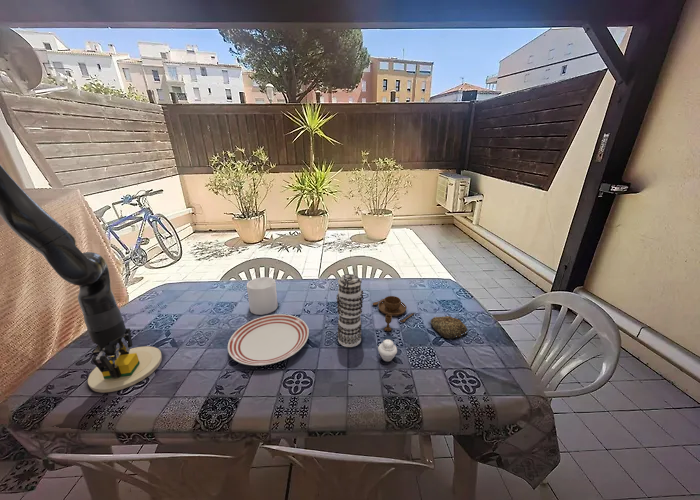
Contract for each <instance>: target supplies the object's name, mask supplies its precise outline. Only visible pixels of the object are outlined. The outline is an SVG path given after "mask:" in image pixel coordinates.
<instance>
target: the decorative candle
mask: <svg viewBox="0 0 700 500" xmlns="http://www.w3.org/2000/svg"><path fill="white" fill-rule="evenodd" d="M362 282H363V280H362V279H361V278H360V277H359V276H358V275H356V274H353V273H345V274H343V275H341V277H339V278H338V279H337V284H338V288H337V292H338V293H337V294H336V304H337V305H336V306H337V307H336V309H337V310H336V312H337V314H338V321H337V342H338V343H339V345H341V346H343V347H345V348H354V347H356V346H359V345H360V344H361V342H362V321H361V320H362V318H361V315H362V312H363V309H362V308H363V303H364V302H363V299H364V295H363V294H364V290H362Z"/></svg>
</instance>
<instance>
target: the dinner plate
mask: <svg viewBox="0 0 700 500" xmlns="http://www.w3.org/2000/svg"><path fill="white" fill-rule="evenodd" d="M309 335H310V329H309V326H308V325H307V323H306V322H305V321H304V320H303V319H301V318H300V317H298V316H296V315H292V314H285V313H276V314H275V313H274V314H267V315H262V316H260V317H257V318H255V319H252V320H250V321H248V322H245V324H243V325H242V326H240V327H239V328H238V329H236V330H235V331H234V333H233V334H232V335H231V336H230V338H229V340H228V343H227V352H228V355H229V356H230V358H231V359H232V360H234V361H235V362H236V363H239V364H242V365H246V366H253V367H260V366H268V365H274V364H276V363H279V362H282V361H285V360H287V359H289V358H291V357H292V356H294V355H296V354H297V353H298V352H299V351H300V350H301V349H302V348H303V347H304V346H305V344H306V343H307V341H308V339H309Z"/></svg>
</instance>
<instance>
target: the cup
mask: <svg viewBox="0 0 700 500" xmlns="http://www.w3.org/2000/svg"><path fill="white" fill-rule="evenodd" d="M246 291H247V299H248V307H249V312H251V314H253V315H258V316H265V315H269V314H271V313H273V312H275V311H276V310H277V309H278V306H279V304H278V303H279V302H278V293H277V283H276V279H274V278H273V277H269V276H261V277H256V278H253V279H251V280H249V281H248V282H247V283H246Z"/></svg>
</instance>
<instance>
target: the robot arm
mask: <svg viewBox="0 0 700 500" xmlns="http://www.w3.org/2000/svg"><path fill="white" fill-rule="evenodd" d="M0 217H1V219H2V220H3V221H4V222H5V223H6V225H7V226H8V227H9V228H10V230H12V231H13V232H14V233H15V234H16V235H17V236H18V237H19V238H20V239H21V240H23V241H24V242H25V243H27V244H28V245H29V246H31V248H33V249H34V250H35V251H36V252H38V253H39V254H41V255H42V256H43V258H44V259H45V260H46V262H47V264H48V265H49V266H50V267H51V268H52V269H53V270H54V272H55V273H56V274H57V275H58V277H60V278H61V279H63V281H65V282H67V283H69V284H71V285H73V286H77V287H78V288H79V291H78V294H77V302H78V305H79V308H80V310H81V312H82V315H83V316H82V317H83V322H84V324H85V327H86V329H87V332H88V334H89V337H90V340H91V342H92V343H93V344H96V345H97V346H99V352H98V354H97V356H93V357H92V362H93V364H94V365H95V366H96V367H98V369H99V370H100V371H101V372H106V371H109V373H110V376H111V378H119V377H120V376H121V372H120V369H119V367H118V362H117V359H118V358H119V354H120V353H121V354H120V355H125V354H129V351H130V349H131V348H132V347H133V340H132V339H133V338H132V331H131V328H127V327H126V324H125V321H124V318H123V316H122V315H123V314H122V313H121V309H120V307H119V306H118V304H117V301H116V298H115V295H114V292H113V290H112V285H111V278H110V277H111V276H110V275H111V274H110V270H109V265H108V263H107V260H106V259H105V258H104V257H103V256H102V255H100V254H99V253H97V252H93V251H85V252H82V250H80V249H79V247H78V246H77V240H76V238H75V237H74V235H73V234H72V233H70V232H69V231H68V230H67V229H66V228H65V227H64V226H63V225H61V223H59V222H58V221H57V220H56V219H55V218H54V217H52V215H50V214H49V213H48V212H47V211H46V210H45V209H43V208H42V206H40V205H39V204H38V203H37V202H36V201H35V200H33V198H32V197H31V196H30V195H28V193H27V192H25V190H24V189H23V188H22V187H21V186H20V185H19V184H17V182H16V181H15V180H14V179H13V178H12V176H11V175H10V174H9V173H8V172H7V171H6V170H5V168H4V167H3V166H2V164H0ZM126 341H127V342H126ZM110 356H114V357H110ZM110 361H113V364H111V363H110Z"/></svg>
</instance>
